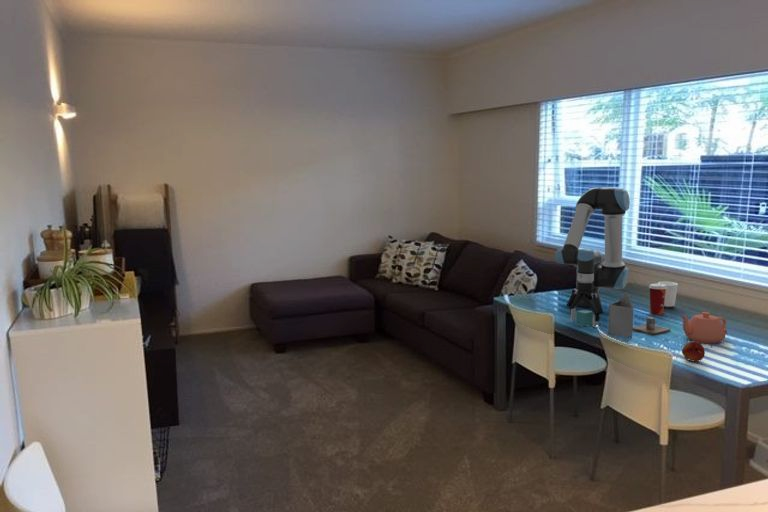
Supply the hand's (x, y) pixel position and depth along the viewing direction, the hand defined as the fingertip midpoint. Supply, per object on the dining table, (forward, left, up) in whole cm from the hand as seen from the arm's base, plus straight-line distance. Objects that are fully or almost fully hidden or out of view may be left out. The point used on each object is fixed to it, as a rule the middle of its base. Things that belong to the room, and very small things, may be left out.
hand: (584, 324), depth 289 cm
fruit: (+60, -7, 0) cm, 60 cm away
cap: (0, 0, 0) cm, 0 cm away
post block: (+24, +17, 0) cm, 29 cm away
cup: (0, +64, 0) cm, 64 cm away
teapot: (+46, +22, 0) cm, 51 cm away
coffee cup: (+6, +47, 0) cm, 47 cm away
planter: (+18, +2, 0) cm, 18 cm away
